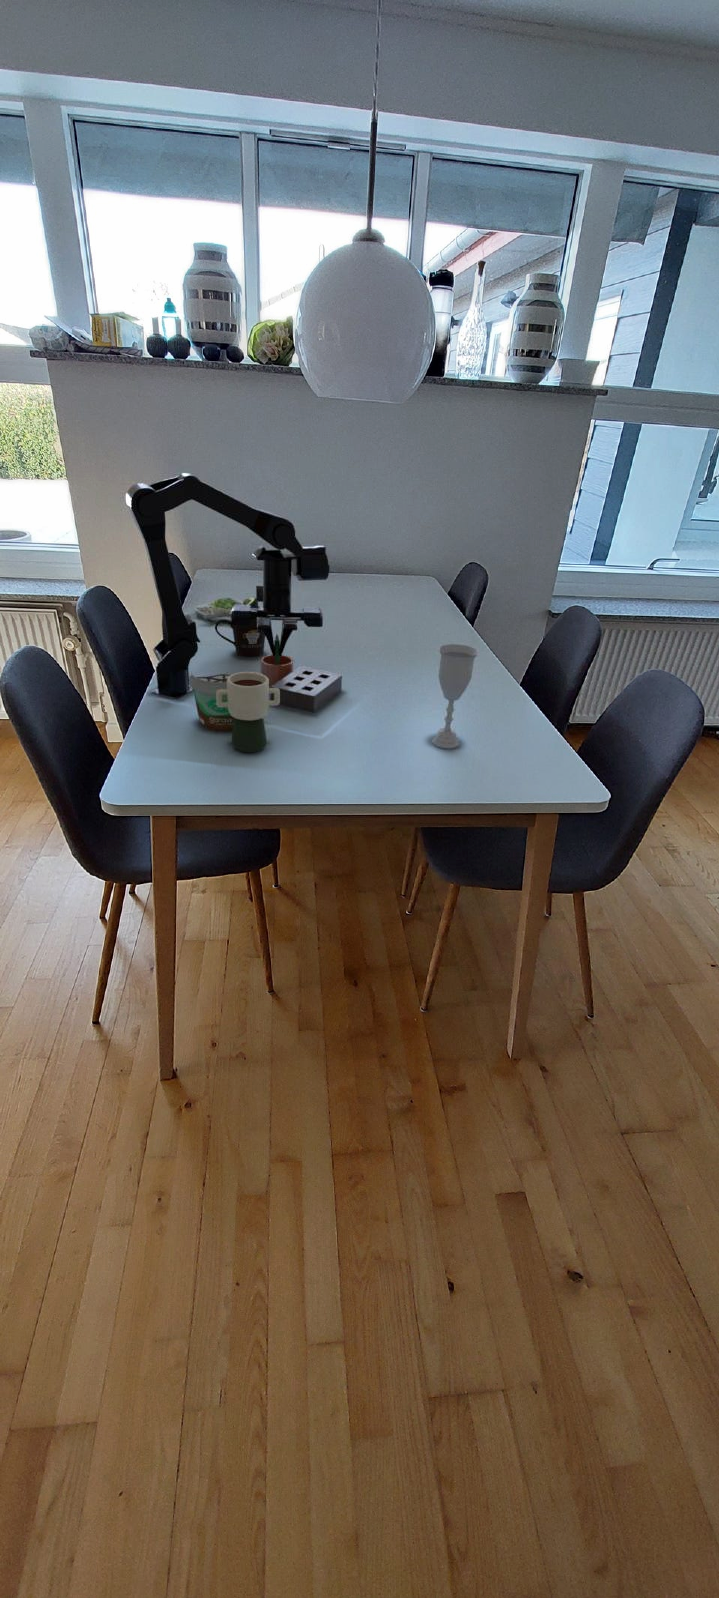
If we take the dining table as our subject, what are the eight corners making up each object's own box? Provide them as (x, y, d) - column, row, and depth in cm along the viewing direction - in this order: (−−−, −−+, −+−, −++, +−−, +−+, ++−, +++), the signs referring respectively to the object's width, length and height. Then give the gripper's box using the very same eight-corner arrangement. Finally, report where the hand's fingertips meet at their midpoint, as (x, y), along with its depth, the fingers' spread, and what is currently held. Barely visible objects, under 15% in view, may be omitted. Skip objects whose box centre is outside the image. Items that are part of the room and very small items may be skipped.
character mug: (276, 737, 128) (277, 670, 121) (282, 754, 122) (282, 685, 115) (217, 739, 125) (214, 672, 118) (219, 757, 119) (216, 687, 113)
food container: (193, 736, 126) (190, 685, 121) (191, 722, 131) (187, 672, 126) (260, 732, 129) (260, 682, 124) (256, 718, 134) (255, 669, 129)
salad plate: (226, 630, 179) (225, 613, 177) (178, 615, 187) (177, 598, 185) (275, 615, 193) (275, 599, 191) (228, 602, 201) (228, 586, 199)
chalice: (441, 730, 135) (453, 641, 125) (470, 742, 131) (485, 651, 122) (419, 742, 130) (431, 650, 120) (450, 754, 126) (463, 660, 117)
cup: (283, 690, 147) (283, 667, 144) (255, 684, 149) (255, 661, 146) (298, 680, 152) (298, 658, 150) (270, 674, 155) (270, 652, 152)
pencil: (278, 681, 150) (278, 635, 145) (273, 680, 150) (273, 634, 145) (280, 680, 151) (280, 634, 145) (275, 679, 151) (275, 633, 146)
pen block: (341, 692, 148) (342, 674, 146) (313, 714, 137) (314, 696, 135) (300, 683, 151) (300, 665, 149) (270, 704, 140) (270, 686, 138)
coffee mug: (271, 650, 168) (271, 609, 163) (263, 662, 161) (263, 620, 156) (224, 646, 169) (223, 605, 164) (214, 657, 162) (212, 615, 156)
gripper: (319, 573, 148) (317, 643, 156) (231, 570, 145) (233, 642, 153) (324, 586, 138) (321, 661, 146) (230, 583, 136) (232, 659, 144)
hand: (277, 655), depth 148 cm, fingers closed on pencil, 1 cm apart
